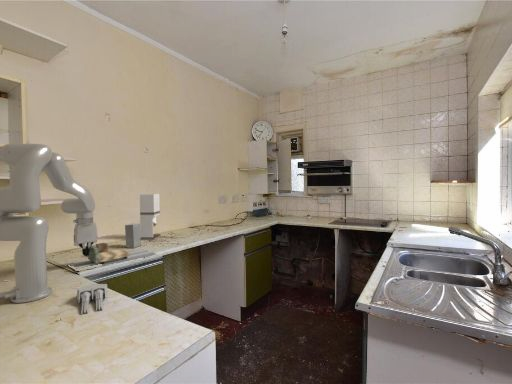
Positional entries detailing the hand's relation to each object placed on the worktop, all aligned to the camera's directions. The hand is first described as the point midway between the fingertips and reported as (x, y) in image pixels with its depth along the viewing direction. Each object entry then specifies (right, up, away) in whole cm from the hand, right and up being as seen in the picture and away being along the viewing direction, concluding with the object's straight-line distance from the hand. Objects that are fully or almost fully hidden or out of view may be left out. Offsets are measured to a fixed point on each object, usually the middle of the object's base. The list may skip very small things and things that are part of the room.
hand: (86, 255), depth 141 cm
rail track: (+9, -5, +11) cm, 15 cm away
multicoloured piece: (+8, -5, +9) cm, 13 cm away
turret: (+29, -8, -42) cm, 52 cm away
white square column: (+8, -3, +68) cm, 68 cm away
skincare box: (+6, -4, +41) cm, 42 cm away
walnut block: (-4, -5, +21) cm, 22 cm away
